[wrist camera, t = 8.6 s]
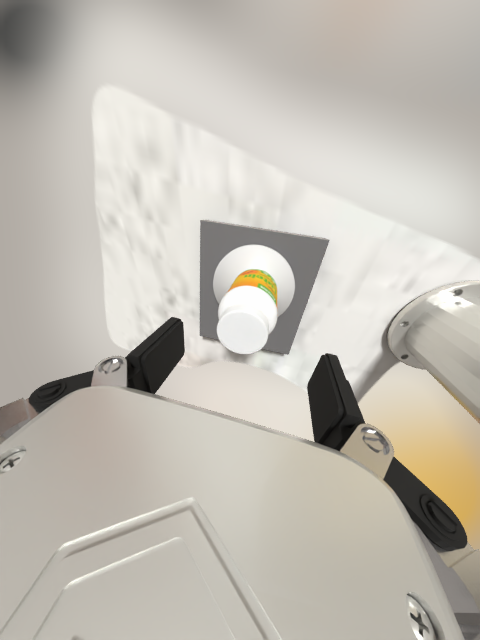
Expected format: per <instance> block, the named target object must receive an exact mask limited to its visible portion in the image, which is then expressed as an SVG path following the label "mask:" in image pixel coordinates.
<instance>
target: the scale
mask: <svg viewBox="0 0 480 640" xmlns="http://www.w3.org/2000/svg"><path fill="white" fill-rule="evenodd" d="M328 243H329V240H328V239H326V238H320V237H314V236H307V235H301V234H294V233H288V232H281V231H275V230H268V229H262V228H255V227H249V226H242V225H235V224H229V223H222V222H216V221H209V220H201V226H200V336H203V337H208V338H213V339H217V340H219V338H218V335H217V325H218V322H219V317H218V308H219V304H220V302H221V300H222V298H223V297H224V295H225V294H226V293H227V291H228V290H229V288H230V287H231V285H232V284H233V282H234V281H235V279H236V278H237V276H238V275H239V274H240V273H242V272H243V271H245V270H247V269H252V268H257V269H262V270H264V271H266V272H268V273H269V274H270V275H271V276H272V277H273V278H274V280H275V282H276V285H277V309H278V316H277V322H276V325H275V327H274V329H273V330H272V332H271V333H270V334H269V335H268V339H267V342H266V344H265V345H264V347H263V348H262V349H265V350H269V351H274V352H279V353H283V354H289V352H290V349H291V346H292V343H293V340H294V338H295V335H296V332H297V329H298V326H299V324H300V321H301V318H302V315H303V313H304V310H305V307H306V304H307V301H308V299H309V296H310V293H311V290H312V287H313V285H314V282H315V279H316V276H317V274H318V271H319V268H320V265H321V262H322V260H323V257H324V254H325V251H326V248H327V246H328Z"/></svg>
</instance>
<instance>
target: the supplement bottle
mask: <svg viewBox="0 0 480 640" xmlns="http://www.w3.org/2000/svg"><path fill="white" fill-rule="evenodd" d="M277 316H278V309H277V285H276V282H275V280H274V278H273V277H272V276H271V275H270V274H269V273H268V272H266V271H264V270H262V269H257V268H252V269H247V270H245V271H243V272H242V273H240V274H239V275H238V276H237V278H236V279H235V281H234V282H233V284H232V285H231V287H230V288H229V290H228V291H227V293H226V294H225V295H224V297H223V298H222V300H221V302H220V304H219V308H218V317H219V322H218V325H217V335H218V338H219V340H220V342H221V343H222V344H223V345H224V346H225V347H226V348H227V349H229V350H230V351H232V352H235V353H238V354H252V353H255V352H257V351H259V350H260V349H262V348H263V347H264V345H265V344H266V342H267V339H268V335H269V334H270V333H271V332H272V330H273V329H274V327H275V325H276V322H277Z"/></svg>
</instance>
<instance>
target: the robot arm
mask: <svg viewBox="0 0 480 640" xmlns="http://www.w3.org/2000/svg"><path fill="white" fill-rule="evenodd" d="M387 340H388V345H389V348H390V350H391V351H392V353H393V354H394V355H395V356H396V357H397V358H398V359H399V360H400V361H401V362H403V363H405V364H406V365H409V366H412V367H415V368H420V369H426V370H427V371H428V372H429V373H430V374H431V375H432V376H433V377H434V378H435V379H436V380H437V381H438V382H439V383H440V384H441V385H442V386H443V387H444V388H445V389H446V390H447V391H448V392H449V393H450V394H451V395H452V396H453V397H454V398H455V399H456V400H457V401H458V402H459V403H460V404H461V405H462V406H463V407H464V408H465V409H466V410H467V411H468V412H469V413H470V414H471V415H472V416H473V417H474V419H476V421H478V423H480V281H464V282H457V283H453V284H449V285H445V286H442V287H439V288H437V289H434V290H432V291H429V292H427V293H425V294H424V295H422V296H420V297H418V298H416V299H415V300H414V301H412V302H411V303H410V304H408V305H407V306H406V307H405V308H404V309H403V310H402V311H401V312H400V313H399V314H398V315H397V316H396V318H395V319H394V320H393V322H392V324H391V326H390V328H389V331H388V335H387ZM184 352H185V349H184V329H183V322H182V321H181V319H178V318H174V317H171V318H170V319H169V320H168V321H166V322H165V323H164V324H163V325H162V326H161V327H160V328H158V329H157V330H156V331H155V332H154V333H153V334H151V335H150V336H149V337H148V338H147V339H146V340H144V341H143V342H142V343H141V344H140V345H139V346H137V347H136V348H135V349H134V350H133V351H132V352H131V353H130V354H128V356H127V357H125V358H124V357H121V356H112V357H108V358H106V359H104V360H102V361H100V362H99V363H98V364H97V365H96V366H95V369H94V370H93V371H90V372H86V373H82V374H78V375H75V376H71V377H67V378H63V379H59V380H56V381H52V382H49V383H47V384H45V385H43V386H41V387H39V388H38V389H36V390H35V391H34V392H33V393H32V394H31V396H30V397H29V398H28V399H26V400H25V399H24V398H22V399H19V400H17V401H14V402H12V403H10V404H7V405H5V406H3V407H0V640H480V551H479V549H478V550H474V549H473V548H472V547H471V545H470V544H469V543H468V542H467V536H466V533H465V530H464V528H463V526H462V524H461V522H460V521H459V519H458V518H457V517H456V515H455V514H454V513H453V511H452V510H451V509H450V508H449V507H448V506H447V505H446V504H445V503H444V502H443V501H442V500H441V499H440V498H439V497H438V496H436V495H435V494H434V493H433V492H432V491H431V490H430V489H429V488H428V487H427V486H425V485H424V484H423V483H422V482H421V481H420V480H419V479H418V478H417V477H416V476H415V475H413V474H412V473H411V472H410V471H409V470H408V469H407V468H406V467H405V466H403V465H402V464H401V463H400V462H399V461H398V460H397V459H396V458H395V457H394V449H393V446H392V444H391V442H390V441H389V439H388V438H387V437H386V436H385V435H384V434H383V433H382V432H381V431H380V430H378V429H377V428H376V427H374V426H371V425H369V424H365V421H364V419H363V416H362V414H361V411H360V409H359V406H358V404H357V401H356V399H355V396H354V393H353V391H352V388H351V386H350V383H349V382H348V381H347V380H346V378H345V375H344V373H343V370H342V368H341V365H340V362H339V360H338V357H337V356H336V355H332V354H328V353H326V354H325V355H322V356H321V358H320V360H319V362H318V364H317V366H316V368H315V370H314V372H313V374H312V376H311V378H310V380H309V382H308V387H307V389H308V396H309V404H310V411H311V419H312V427H313V434H314V441H315V442H312V441H309V440H306V439H303V438H300V437H297V436H294V435H291V434H287V433H284V432H281V431H277V430H274V429H271V428H267V427H264V426H261V425H257V424H254V423H251V422H248V421H244V420H241V419H237V418H234V417H231V416H227V415H224V414H220V413H217V412H214V411H211V410H207V409H204V408H200V407H197V406H193V405H190V404H187V403H183V402H180V401H176V400H173V399H169V398H166V397H162V396H159V395H155V393H156V391H157V390H158V389H159V388H160V386H161V385H162V383H163V382H164V381H165V380H166V378H167V377H168V375H169V374H170V373H171V371H172V370H173V369H174V367H175V366H176V365H177V363H178V362H179V361H180V359H181V358H182V357H183V355H184Z"/></svg>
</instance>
